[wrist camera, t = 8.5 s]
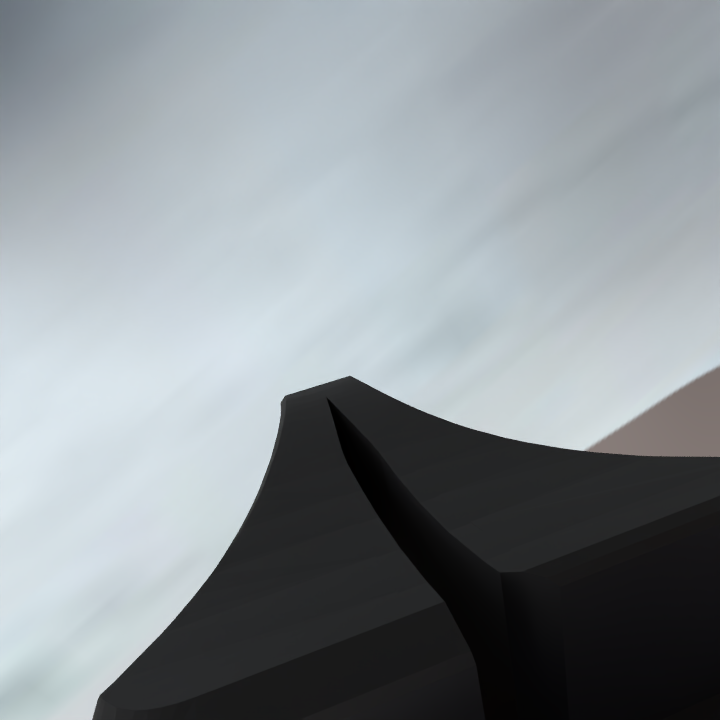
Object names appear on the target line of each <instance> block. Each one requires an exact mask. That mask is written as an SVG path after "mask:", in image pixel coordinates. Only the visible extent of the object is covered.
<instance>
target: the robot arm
mask: <svg viewBox="0 0 720 720" xmlns="http://www.w3.org/2000/svg"><path fill="white" fill-rule="evenodd" d="M92 720H720V457H662V456H659V457H658V456H635V455H622V454H609V453H596V452H595V453H594V452H587V451H578V450H570V449H563V448H557V447H551V446H545V445H539V444H533V443H527V442H522V441H517V440H512V439H508V438H504V437H500V436H496V435H492V434H489V433H485V432H481V431H477V430H474V429H470V428H467V427H464V426H461V425H458V424H455V423H452V422H449V421H447V420H444V419H441V418H438V417H436V416H433V415H430V414H428V413H425V412H423V411H421V410H418V409H416V408H414V407H411V406H409V405H407V404H405V403H403V402H400V401H398V400H396V399H394V398H392V397H390V396H388V395H386V394H384V393H382V392H380V391H378V390H376V389H374V388H372V387H371V386H369V385H367V384H365V383H363V382H361V381H359V380H357V379H355V378H353V377H351V376H348V377H345V378H341V379H338V380H335V381H332V382H328V383H325V384H322V385H319V386H315V387H312V388H309V389H306V390H302V391H299V392H296V393H293V394H289V395H286V396H285V397H284V398H283V400H282V402H281V418H280V424H279V429H278V434H277V438H276V442H275V445H274V449H273V453H272V456H271V460H270V463H269V465H268V468H267V471H266V473H265V476H264V479H263V481H262V484H261V487H260V489H259V492H258V494H257V496H256V498H255V501H254V503H253V505H252V507H251V509H250V511H249V513H248V515H247V517H246V519H245V521H244V523H243V524H242V526H241V528H240V530H239V532H238V533H237V535H236V537H235V538H234V540H233V542H232V543H231V545H230V546H229V548H228V550H227V551H226V553H225V555H224V556H223V558H222V559H221V561H220V562H219V564H218V565H217V567H216V568H215V570H214V571H213V572H212V574H211V575H210V576H209V578H208V579H207V580H206V582H205V583H204V584H203V585H202V587H201V588H200V589H199V591H198V592H197V593H196V594H195V596H194V597H193V598H192V599H191V600H190V602H189V603H188V604H187V605H186V606H185V608H184V609H183V610H182V611H181V612H180V614H179V615H178V616H177V617H176V618H175V619H174V620H173V622H172V623H171V624H170V625H169V626H168V627H167V628H166V629H165V630H164V632H163V633H162V634H161V635H160V636H159V637H158V638H157V639H156V640H155V641H154V642H153V643H152V644H151V645H150V646H149V647H148V648H147V649H146V650H145V651H144V652H143V653H142V654H141V655H140V656H139V657H138V658H137V659H136V660H135V661H134V662H133V663H132V664H131V665H130V666H129V667H128V668H127V669H126V670H125V671H124V673H123V674H122V675H121V676H120V677H119V678H118V679H117V680H116V681H115V682H114V683H113V684H111V685H110V686H109V687H108V688H107V689H106V690H105V691H104V692H103V693H102V694H101V695H100V696H99V698H98V701H97V705H96V708H95V712H94V715H93V719H92Z"/></svg>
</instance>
